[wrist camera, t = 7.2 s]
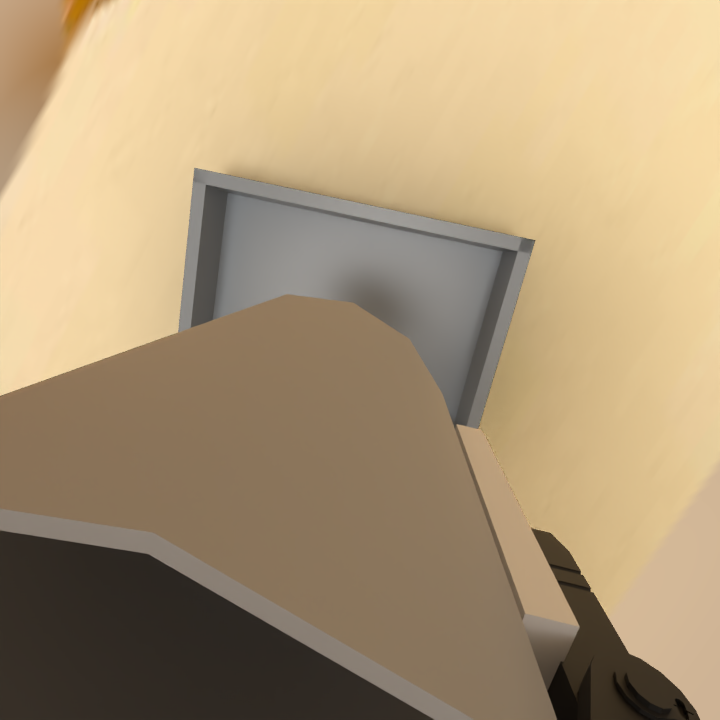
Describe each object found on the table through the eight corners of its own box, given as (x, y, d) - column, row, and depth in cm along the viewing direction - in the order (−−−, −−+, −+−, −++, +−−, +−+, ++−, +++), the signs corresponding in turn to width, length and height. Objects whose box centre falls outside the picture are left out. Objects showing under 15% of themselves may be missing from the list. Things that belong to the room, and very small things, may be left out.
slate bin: (457, 435, 33) (467, 463, 29) (200, 377, 34) (172, 396, 29) (514, 242, 29) (535, 240, 25) (223, 180, 30) (194, 167, 25)
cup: (504, 400, 12) (972, 1008, 2) (352, 594, 14) (260, 1352, 4) (251, 236, 11) (-528, 134, 2) (130, 463, 13) (-544, 993, 4)
